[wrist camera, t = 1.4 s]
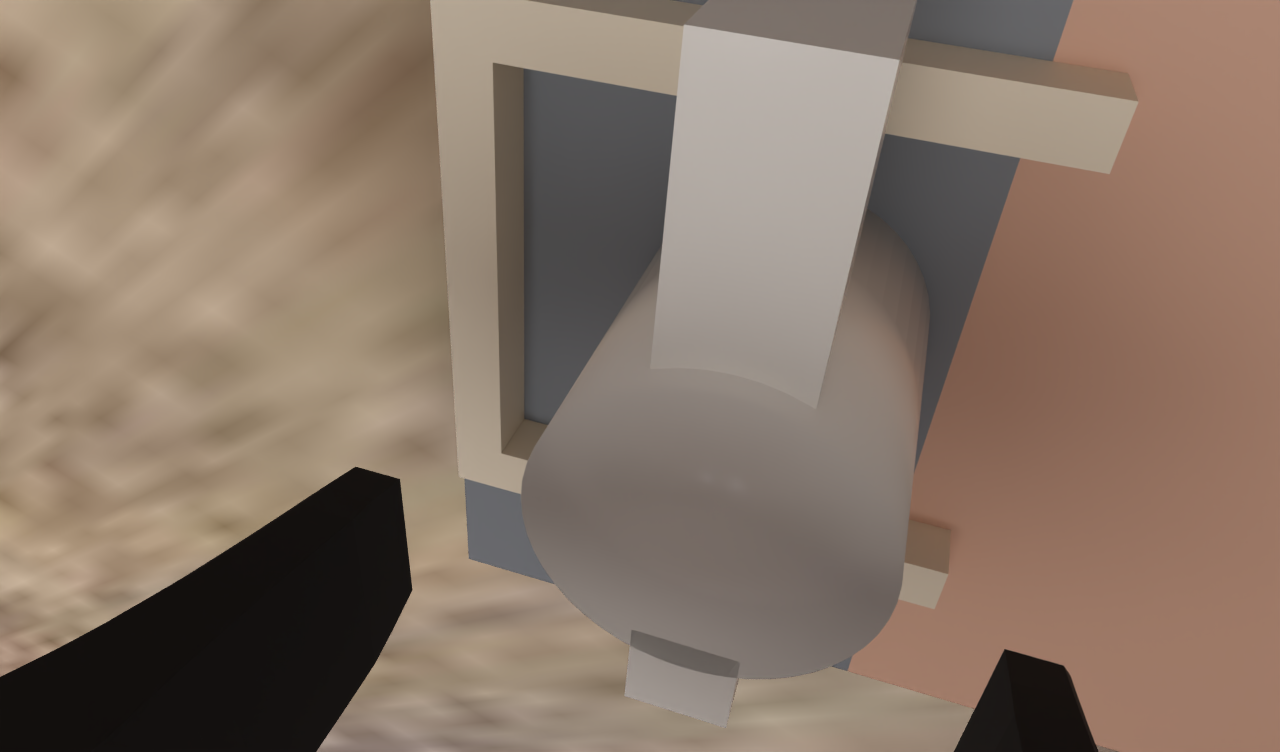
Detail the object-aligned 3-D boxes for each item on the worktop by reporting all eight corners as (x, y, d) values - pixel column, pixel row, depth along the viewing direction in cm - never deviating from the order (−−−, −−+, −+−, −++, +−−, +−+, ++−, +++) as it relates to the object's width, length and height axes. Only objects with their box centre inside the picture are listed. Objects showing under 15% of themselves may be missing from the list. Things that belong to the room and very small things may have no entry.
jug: (878, 495, 18) (839, 763, 14) (636, 433, 19) (521, 663, 15) (1047, -43, 12) (1079, 103, 8) (684, -94, 13) (517, 10, 9)
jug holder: (1286, 763, 20) (1313, 860, 19) (486, 531, 24) (447, 593, 22) (2139, -203, 10) (2391, -185, 8) (453, -351, 13) (373, -359, 12)
